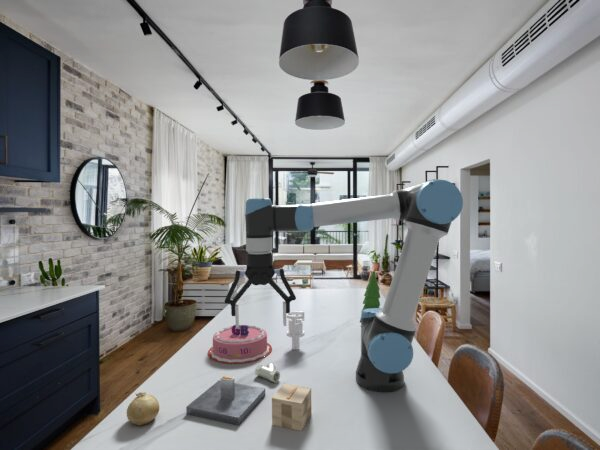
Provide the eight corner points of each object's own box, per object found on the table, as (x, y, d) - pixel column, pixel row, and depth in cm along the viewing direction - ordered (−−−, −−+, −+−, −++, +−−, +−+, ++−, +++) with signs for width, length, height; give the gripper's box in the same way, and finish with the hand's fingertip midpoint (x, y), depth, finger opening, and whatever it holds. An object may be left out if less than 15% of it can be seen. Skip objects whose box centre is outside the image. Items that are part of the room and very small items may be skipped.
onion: (164, 411, 98) (163, 386, 97) (153, 429, 90) (152, 401, 89) (134, 412, 97) (133, 387, 97) (120, 430, 89) (120, 402, 89)
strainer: (302, 352, 138) (302, 314, 137) (285, 351, 139) (284, 313, 139) (306, 345, 145) (305, 309, 144) (289, 344, 146) (288, 308, 146)
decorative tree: (387, 340, 150) (387, 269, 148) (371, 345, 144) (371, 272, 143) (370, 334, 158) (370, 266, 156) (354, 338, 152) (354, 269, 151)
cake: (196, 362, 130) (195, 333, 130) (222, 338, 155) (222, 314, 154) (262, 367, 126) (261, 337, 125) (278, 341, 150) (278, 316, 150)
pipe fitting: (269, 371, 123) (255, 377, 117) (269, 360, 123) (255, 365, 118) (286, 378, 118) (272, 384, 112) (287, 366, 118) (273, 372, 112)
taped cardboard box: (283, 408, 98) (283, 382, 98) (311, 413, 96) (311, 387, 96) (272, 424, 91) (271, 397, 91) (301, 431, 88) (301, 402, 88)
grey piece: (265, 394, 106) (265, 369, 106) (238, 425, 91) (238, 395, 91) (218, 386, 111) (218, 362, 111) (186, 414, 96) (185, 386, 96)
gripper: (301, 249, 107) (302, 319, 108) (216, 252, 104) (218, 323, 105) (304, 252, 99) (305, 327, 100) (213, 255, 97) (215, 332, 97)
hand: (261, 325), depth 102 cm, fingers open, 13 cm apart
